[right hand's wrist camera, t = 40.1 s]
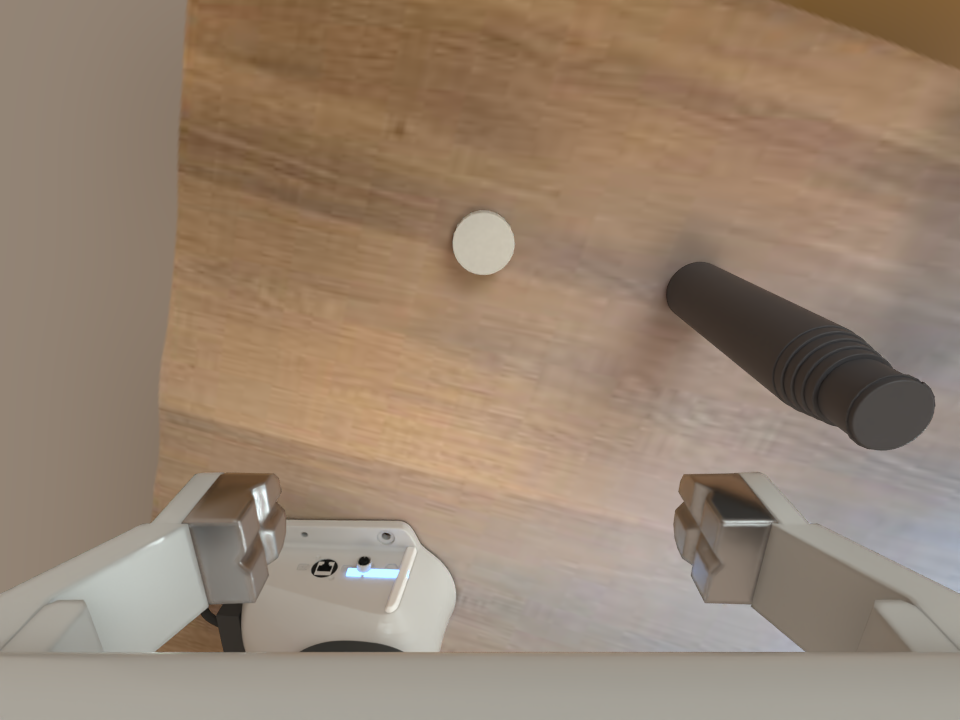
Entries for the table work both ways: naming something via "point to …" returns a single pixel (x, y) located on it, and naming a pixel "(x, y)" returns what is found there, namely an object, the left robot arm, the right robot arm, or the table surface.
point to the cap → (483, 242)
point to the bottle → (803, 357)
